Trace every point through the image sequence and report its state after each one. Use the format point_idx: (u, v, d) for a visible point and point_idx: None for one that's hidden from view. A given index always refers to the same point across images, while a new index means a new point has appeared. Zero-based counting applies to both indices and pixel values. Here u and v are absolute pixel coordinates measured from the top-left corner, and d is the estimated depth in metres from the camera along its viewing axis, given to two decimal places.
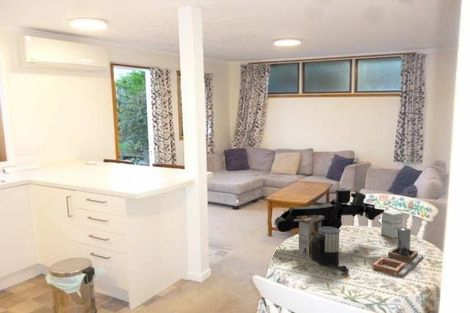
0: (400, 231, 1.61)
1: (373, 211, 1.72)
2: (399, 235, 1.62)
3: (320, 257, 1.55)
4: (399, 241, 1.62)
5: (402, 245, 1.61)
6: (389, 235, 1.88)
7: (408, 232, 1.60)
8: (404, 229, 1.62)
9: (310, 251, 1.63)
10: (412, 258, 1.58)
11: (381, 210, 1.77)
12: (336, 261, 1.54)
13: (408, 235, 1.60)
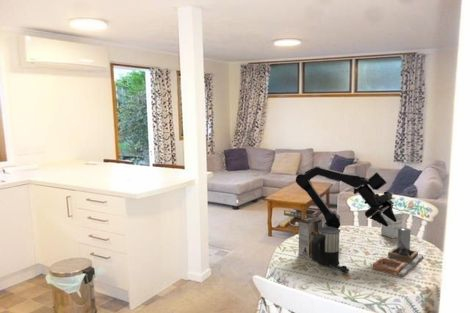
0: (400, 231, 1.61)
1: (372, 212, 1.62)
2: (399, 235, 1.62)
3: (320, 257, 1.55)
4: (399, 241, 1.62)
5: (402, 245, 1.61)
6: (389, 235, 1.88)
7: (408, 232, 1.60)
8: (404, 229, 1.62)
9: (310, 251, 1.63)
10: (412, 258, 1.58)
11: (384, 222, 1.63)
12: (336, 261, 1.54)
13: (408, 235, 1.60)
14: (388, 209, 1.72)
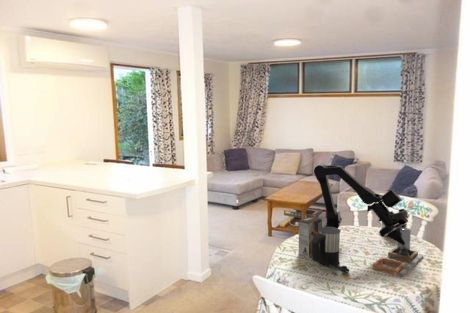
0: (400, 231, 1.61)
1: (387, 231, 1.58)
2: None
3: (320, 257, 1.55)
4: None
5: (402, 245, 1.61)
6: None
7: (408, 232, 1.60)
8: (404, 229, 1.62)
9: (310, 251, 1.63)
10: (412, 258, 1.58)
11: (401, 241, 1.60)
12: (336, 261, 1.54)
13: (408, 235, 1.60)
14: None
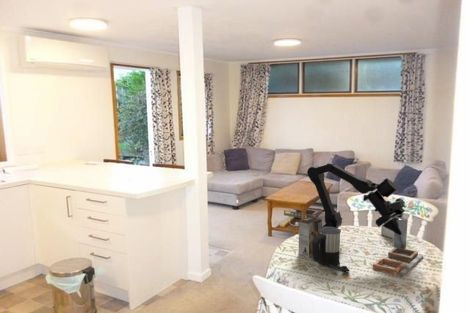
0: (397, 221, 1.57)
1: (384, 220, 1.54)
2: None
3: (321, 257, 1.55)
4: None
5: (399, 235, 1.57)
6: (389, 235, 1.88)
7: (405, 222, 1.56)
8: (401, 219, 1.58)
9: (310, 251, 1.63)
10: (412, 258, 1.58)
11: (398, 231, 1.56)
12: (337, 261, 1.54)
13: (405, 225, 1.56)
14: None
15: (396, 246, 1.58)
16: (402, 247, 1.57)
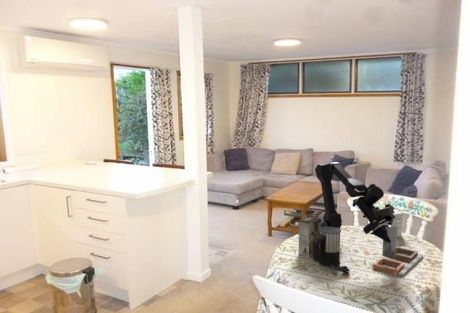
0: (386, 228, 1.48)
1: (372, 228, 1.45)
2: None
3: (321, 257, 1.55)
4: None
5: (388, 243, 1.48)
6: None
7: (394, 229, 1.47)
8: (390, 226, 1.49)
9: (310, 251, 1.63)
10: (412, 258, 1.58)
11: (387, 239, 1.47)
12: (337, 261, 1.54)
13: (394, 233, 1.47)
14: None
15: (385, 255, 1.49)
16: (392, 256, 1.48)
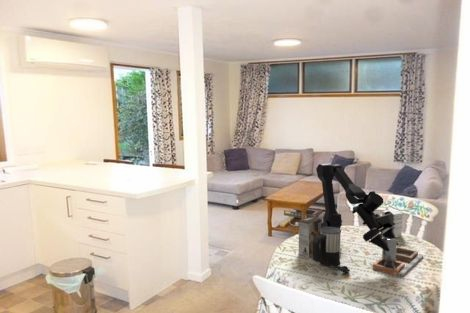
0: (385, 241, 1.49)
1: (371, 235, 1.45)
2: None
3: (321, 257, 1.55)
4: (384, 252, 1.50)
5: (387, 256, 1.49)
6: None
7: (394, 242, 1.48)
8: (390, 239, 1.50)
9: (310, 251, 1.63)
10: (412, 258, 1.58)
11: (385, 247, 1.46)
12: (337, 261, 1.54)
13: (394, 246, 1.48)
14: (389, 231, 1.55)
15: None
16: None
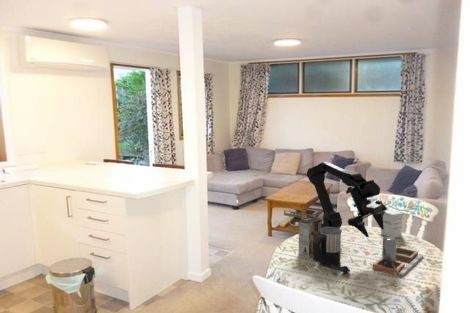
0: (385, 241, 1.49)
1: (354, 223, 1.57)
2: (384, 245, 1.49)
3: (321, 257, 1.55)
4: (384, 252, 1.50)
5: (387, 256, 1.49)
6: (389, 235, 1.88)
7: (394, 242, 1.48)
8: (390, 239, 1.50)
9: (310, 251, 1.63)
10: (412, 258, 1.58)
11: (365, 234, 1.59)
12: (338, 261, 1.54)
13: (394, 246, 1.48)
14: (378, 215, 1.63)
15: None
16: None
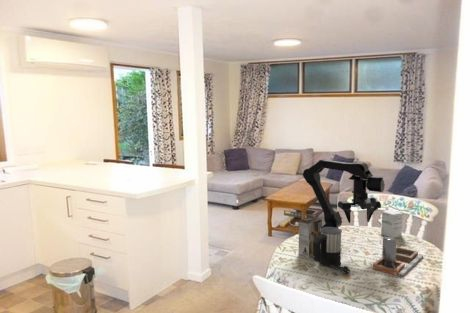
0: (385, 241, 1.49)
1: (341, 207, 1.68)
2: (384, 245, 1.49)
3: (322, 257, 1.55)
4: (384, 252, 1.50)
5: (387, 256, 1.49)
6: (389, 235, 1.88)
7: (394, 242, 1.48)
8: (390, 239, 1.50)
9: (310, 251, 1.63)
10: (412, 258, 1.58)
11: (348, 219, 1.70)
12: (338, 261, 1.54)
13: (394, 246, 1.48)
14: (370, 209, 1.70)
15: None
16: None
